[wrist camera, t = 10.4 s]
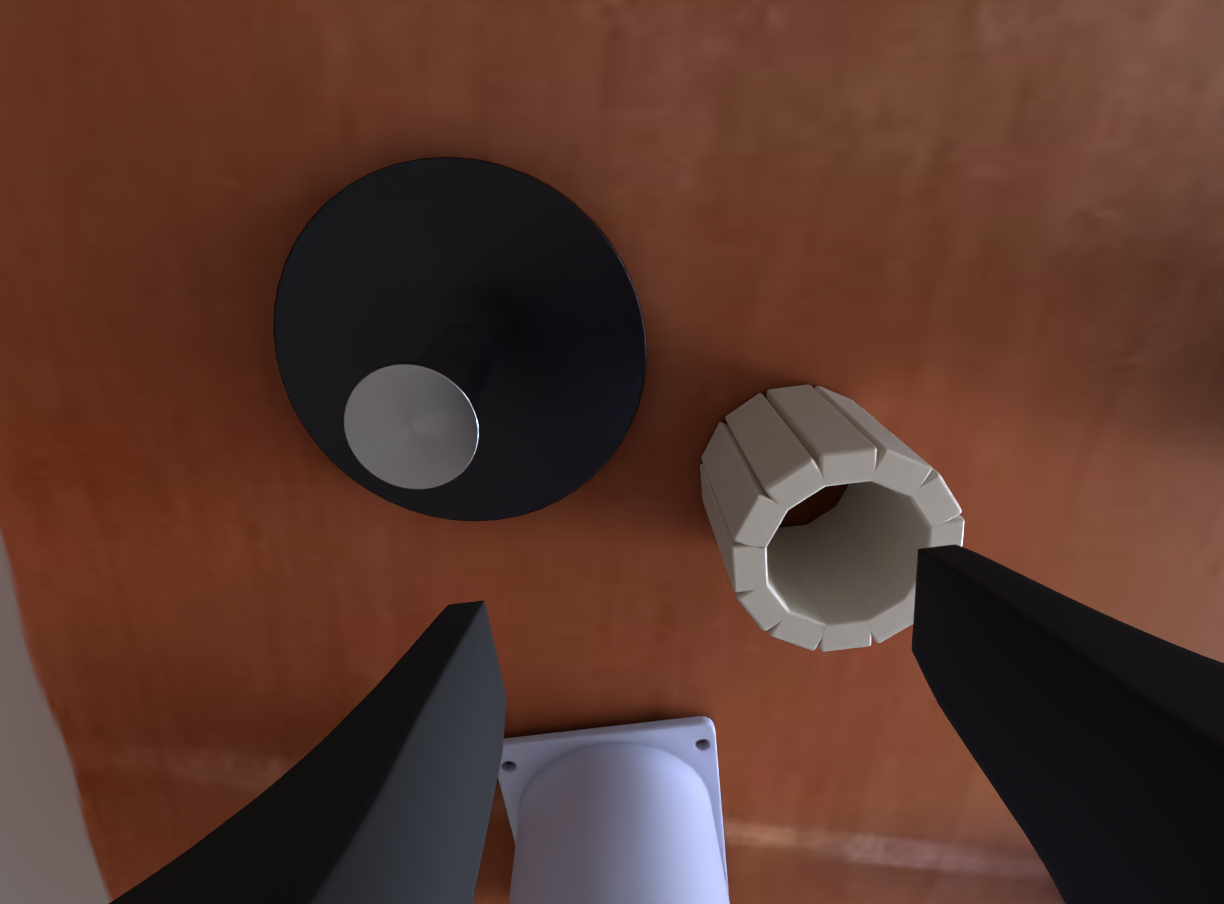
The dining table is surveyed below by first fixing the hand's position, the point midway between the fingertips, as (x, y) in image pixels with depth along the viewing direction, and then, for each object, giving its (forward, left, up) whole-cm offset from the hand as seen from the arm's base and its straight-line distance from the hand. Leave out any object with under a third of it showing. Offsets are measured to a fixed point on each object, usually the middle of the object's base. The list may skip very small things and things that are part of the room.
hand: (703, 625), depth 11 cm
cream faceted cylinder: (-2, -4, -9) cm, 10 cm away
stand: (+3, +5, -9) cm, 11 cm away
